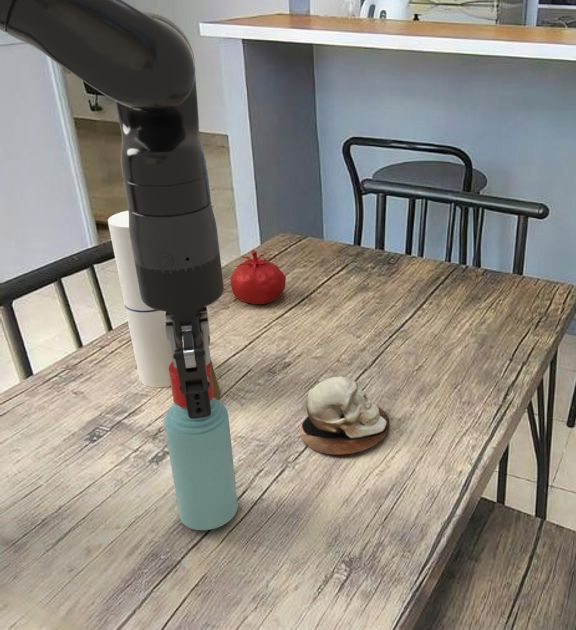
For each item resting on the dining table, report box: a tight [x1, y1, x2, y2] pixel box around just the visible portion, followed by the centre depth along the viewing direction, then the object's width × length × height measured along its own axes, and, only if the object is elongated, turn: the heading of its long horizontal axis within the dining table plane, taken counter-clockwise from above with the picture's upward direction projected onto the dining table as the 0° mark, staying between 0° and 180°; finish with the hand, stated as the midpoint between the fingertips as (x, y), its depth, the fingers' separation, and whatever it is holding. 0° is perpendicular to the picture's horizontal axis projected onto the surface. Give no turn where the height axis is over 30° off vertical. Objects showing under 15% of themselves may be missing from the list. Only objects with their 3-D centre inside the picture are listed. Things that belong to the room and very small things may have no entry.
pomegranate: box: [230, 250, 287, 305], centre depth 125 cm, size 10×10×9 cm
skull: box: [299, 375, 391, 455], centre depth 92 cm, size 12×10×10 cm
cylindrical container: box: [107, 210, 173, 389], centre depth 97 cm, size 7×7×25 cm
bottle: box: [163, 397, 239, 531], centre depth 73 cm, size 6×6×18 cm
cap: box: [169, 362, 214, 408], centre depth 69 cm, size 4×4×4 cm
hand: (199, 402), depth 71 cm, fingers closed on cap, 3 cm apart
